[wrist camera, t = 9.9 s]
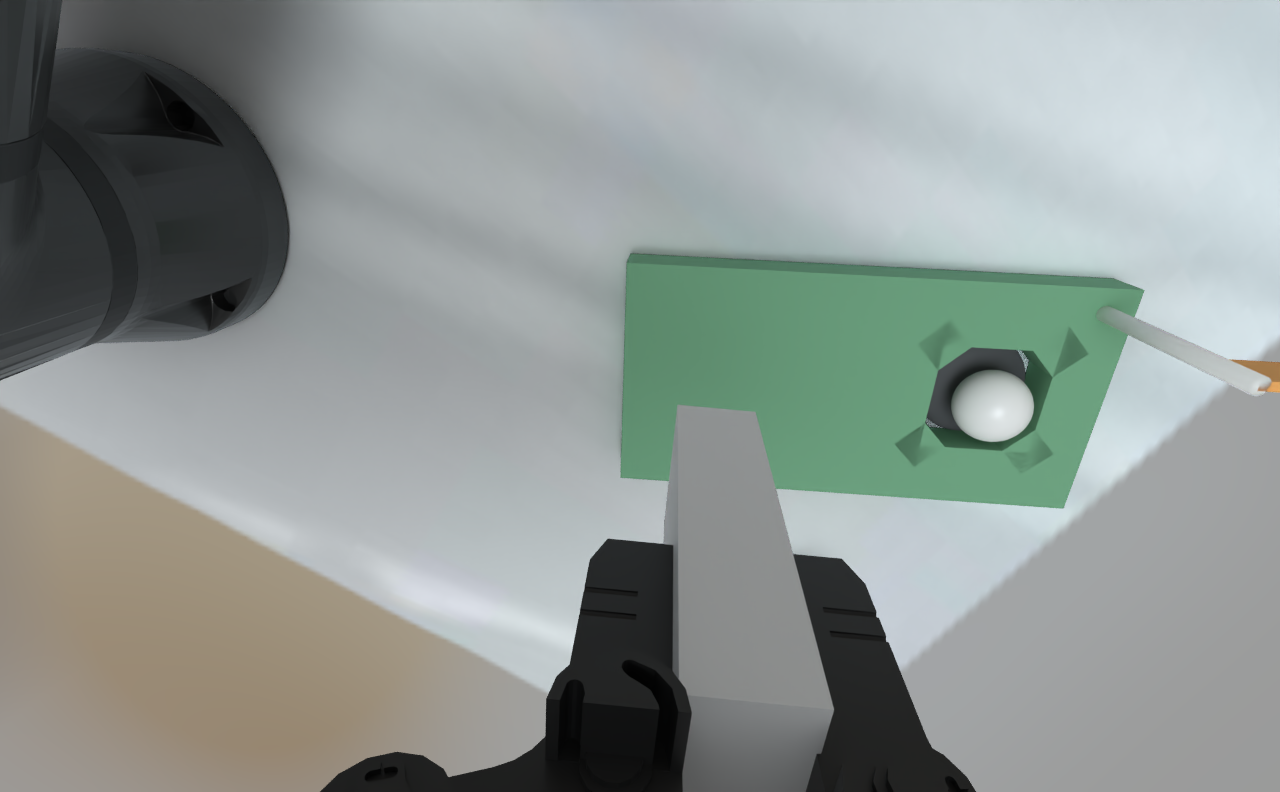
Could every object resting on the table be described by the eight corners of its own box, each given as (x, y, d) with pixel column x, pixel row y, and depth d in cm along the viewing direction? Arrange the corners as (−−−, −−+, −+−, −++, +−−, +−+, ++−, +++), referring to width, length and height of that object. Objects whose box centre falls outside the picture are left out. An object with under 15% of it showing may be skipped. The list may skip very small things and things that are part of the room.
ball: (1001, 462, 33) (1033, 442, 35) (1025, 393, 31) (1056, 377, 34) (929, 432, 36) (963, 415, 38) (948, 367, 34) (982, 354, 36)
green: (624, 457, 40) (600, 583, 29) (630, 253, 35) (604, 314, 24) (1082, 488, 39) (1238, 634, 28) (1161, 281, 34) (1391, 359, 23)
